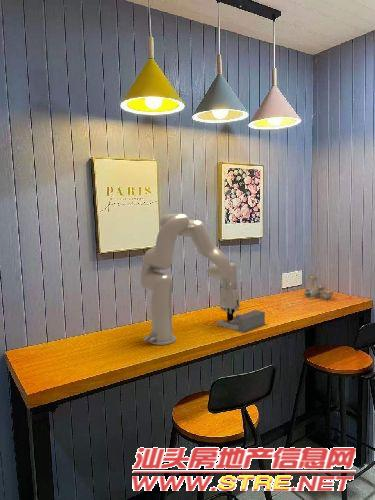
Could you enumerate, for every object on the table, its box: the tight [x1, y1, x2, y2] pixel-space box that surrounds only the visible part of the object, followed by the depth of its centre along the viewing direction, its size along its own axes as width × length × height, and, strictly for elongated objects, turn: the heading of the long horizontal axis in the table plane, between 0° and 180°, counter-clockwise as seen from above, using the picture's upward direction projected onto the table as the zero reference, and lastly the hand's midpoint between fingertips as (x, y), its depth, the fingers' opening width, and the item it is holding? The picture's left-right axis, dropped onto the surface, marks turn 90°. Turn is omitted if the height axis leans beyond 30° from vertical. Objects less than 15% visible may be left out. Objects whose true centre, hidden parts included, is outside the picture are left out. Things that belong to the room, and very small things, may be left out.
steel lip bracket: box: [216, 309, 266, 333], centre depth 191 cm, size 18×18×6 cm
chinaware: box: [303, 272, 334, 301], centre depth 247 cm, size 28×17×17 cm, turn 1°
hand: (230, 320), depth 196 cm, fingers closed
